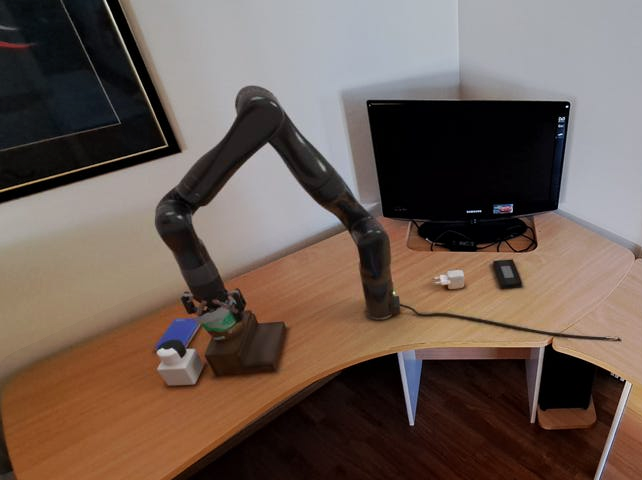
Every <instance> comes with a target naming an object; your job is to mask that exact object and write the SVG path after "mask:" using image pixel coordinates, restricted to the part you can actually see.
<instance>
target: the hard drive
mask: <svg viewBox="0 0 642 480" xmlns="http://www.w3.org/2000/svg"><path fill="white" fill-rule="evenodd" d="M201 326H202V325H201V324H197V323H196V321H195V318H174V320H173V321H172V322H171V324H170V325H169V326H168V328H167V330H166V331H165V332H164V334H163V335H162V337H160V340H159V341H158V343H157V344H156V345H155V347H154V348H153V349H154V350H155V352H156V351H157V349H158V347H159V346H160V345H161V344H162V343H164V342H166V341H169V340H180V341H181V342H182V343H183V345H184V346H185V348H186V349H187V348H188V346H189V344H190V343H191V341H192V339H193V338H194V337H195V335H196V333H198V332H197V331H198V330H199V328H200V327H201Z"/></svg>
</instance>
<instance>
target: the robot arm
mask: <svg viewBox="0 0 642 480" xmlns="http://www.w3.org/2000/svg"><path fill="white" fill-rule="evenodd" d="M234 107H235V108H234V109H235V113H236V117H235V119H234V121H233V122H232V124H231V125H230V128H229V129H228V131H227V133H226V134H225V135H224V136H223V138H222V139H221V140H220V141H219V142H218V143H217V144H216V145H215V146H214V147H212V148H211V149H210V150H208V151H207V152H206V153H204V154H203V155H202V156H201V157H200V158H198V160H196V161H195V162H194V164H193V165H191V167H190V168H189V170H188V171H186V174H185V175H184V176H183V177H182V178H181V179H180V181H179V183H178V184H177V185H175V186H174V187H173V188H172V189H170V190H169V191H168V192H167V193H166V194H165V195H163V197H162V198H161V199H160V200H159V202H158V203H157V205H156V206H155V211H154V226H155V227H154V228H155V229H156V231H157V234H158V235H159V236H158V237H160V240H162V242H163V243H164V244H165V245H166V247H167V248H168V250H170V251H171V253H172V256H173V258H174V260H175V262H176V264H177V266H178V267H179V270H180V274H181V276H182V278H183V280H184V282H185V283H186V286H187V287H188V289H189V291H184V292H183V293H182V296H181V298H180V300H181V303H182V305H183V307H184V309H185V312H186V314H188V315H193V314H194V315H195V316H196V317H199V316H201V315H202V314H203V313H204V311H205V310H206V309H205V308H207V307H208V308H213V307H223V308H225V309H227V310H228V309H230V310H231V311H232V312H234V313H233V314H234V316H235V318H236V321H237V322H241V320H242V319H243V313H242V311H245V310H246V307H247V300H245V298H244V295H243V293H242V292H241V289H240V288H238V287H237V288H234V290H228V289H227V288H226V287H225V284H224V281H223V279H222V277H221V274H220V272H219V269H218V267H217V266H216V263H215V262H214V260H213V258H212V257H211V255H210V253H209V251H208V249H207V246H206V244H205V242H204V241H203V240H202V238H201V237H199V236H198V234H197V231H196V230H195V227H194V224H193V216H195V214H196V213H197V211H198V210H199V209H200V208H203V207H204V208H205V207H207V206H208V205H209V204H210V203H212V201H213V200H214V199H215V198H216V197H217V196H218V195H219V193H220V192H221V191H222V190H223V188H224V187H225V186H226V185H227V184H228V182H229V181H230V180H231V179H232V177H234V175H235V174H236V173H237V172H238V171H239V170H240V169H241V168H242V166H243V165H244V164H246V163H247V162H248V161H249V160H250V159H251V158H252V157H253V156H254V155H255V154H256V153H258V151H260V150H261V149H263V148H264V147H265V146H266V145H267V144H269V145H270V146H271V147H272V148H273V150H274V151H275V152H276V153H277V155H278V156H279V157H280V159H281V160H282V162H283V163H284V165H285V166H286V168H287V169H288V171H289V172H290V174H291V176H292V177H293V178H294V179H295V181H296V182H297V183H298V185H300V187H301V188H302V189H303V190H304V192H306V194H307V195H308V196H309V197H310V198H311V199H312V200H313V201H314V202H315V203H316V204H317V205H319V206H321V208H323V209H324V210H326V211H327V212H329V213H331V214H332V215H334V216H335V217H336V218H337V219H338V221H340V222H341V224H342V225H343V227H344V228H345V229H346V230H347V233H349V235H350V237H351V239H352V241H353V243H354V244H355V246H356V249H357V252H358V258H359V261H358V269H359V275H360V281H361V287H362V292H363V297H364V302H365V306H366V307H365V309H366V314H367V316H368V317H369V318H370V319H372V320H376V321H383V320H384V321H385V320H387V319H389V318H391V317H394V316H396V315H400V314H401V307H402V308H405V309H408V310H410V311H412V312H413V313H414V314H416V315H417V316H421V317H433V316H446V317H447V316H448V317H452V318H453V317H454V318H461V319H466V320H472V321H477V322H482V323H487V324H493V325H497V326H502V327H507V328H511V329H517V330H522V331H527V332H533V333H538V334H544V335H553V336H559V337H568V338H578V339H589V340H590V339H592V340H611V339H612V340H613V339H614V340H617V341H619V342H622V339H621V337H618V339H615V338H606V337H607V336H594V335H593V336H591V335H581V334H580V335H579V334H578V335H577V334H570V333H569V334H568V333H559V332H552V331H544V330H539V329H534V328H527V327H522V326H517V325H512V324H508V323H502V322H498V321H492V320H488V319H483V318H477V317H473V316H465V315H460V314H453V313H446V312H434V313H421V312H418V311H417V310H416V309H415V308H413V307H411V306H409V305H406V304H402V303H401V300H400V299H401V298H400V295H395V293H396V292H395V288H394V287H395V286H394V282H393V278H392V277H393V276H392V269H391V264H392V250H391V242H390V237H389V234H388V233H387V231H386V229H385V228H384V227H383V225H382V224H381V222H380V221H378V219H377V218H376V217H374V216H373V214H371V213H370V212H369V211H368V210H367V209H366V208H365V207H364V206H363V205H362V204H361V203H360V202H359V201H358V200H357V198H356V196H355V194H354V193H353V192H352V190H351V189H350V187H349V185H348V184H347V182H346V181H345V179H344V178H343V177H342V176H341V174H340V173H339V172H338V171H337V169H336V168H335V167H334V166H333V165H332V164H331V163H330V161H329V160H327V158H326V157H325V155H323V154H322V153H321V152H320V151H319V150H318V149H317V147H315V146H314V144H312V143H311V142H310V141H309V140H308V139H307V137H305V135H303V133H302V132H301V131H300V130H299V129H298V127H297V126H296V125H295V124H294V122H293V121H292V119H291V118H290V116H289V115H288V114H287V112H286V110H285V109H284V107H283V106H282V105H281V103H280V101H279V99H278V98H277V96H276V95H275V94H274V93H273V92H271V91H270V90H268V89H267V88H265V87H262V86H260V85H252V84H251V85H245V86H243V87H242V88H240V89H239V91H238V92H237V93H236V96H235V99H234ZM229 296H230V297H229ZM231 297H232V298H231ZM228 299H229V303H228V304H226V303H225V302H226V301H228ZM193 300H194V301H196V302H197V303H199V306H196V305H195V302H194V301H193ZM234 300H235V301H234ZM232 304H233V305H234V307H233V306H232Z"/></svg>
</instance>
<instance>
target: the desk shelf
mask: <svg viewBox="0 0 642 480" xmlns="http://www.w3.org/2000/svg"><path fill="white" fill-rule="evenodd" d="M242 313H243V321H244V323H245V325H244V328H243V329H242V331H241V332H240V333H238V334H237V335H236V336H234V337H232V338H230V339H228V340H225V341H220V342H216V341H215V340H214V339H213V337H212V336H211V337H210V340H209V342H208V345H207V347H206V349H205V351H204V354H203V356H204V358H205V360H206V362H207V364H208V366H209V367H210V369H211V371H212V373H213V374H214V377H215V378H219V377H230V376H238V375H239V376H241V375H242V376H243V375H253V374H264V373H265V374H266V373H275V372H277V369H278V365H279V362H280V361H279V360H280V357H281V353H282V349H283V347H284V346H283V345H284V341H285V337H286V333H287V326H286V323H285V321H271V322H258V319H257V316H256V314H255V312H253V311H252V310H251V309H248V310H244V311H242Z"/></svg>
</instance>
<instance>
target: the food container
mask: <svg viewBox="0 0 642 480" xmlns="http://www.w3.org/2000/svg"><path fill="white" fill-rule="evenodd" d="M229 297H230V296H229ZM231 298H232V297H231ZM234 301H235V300H234ZM225 303H226V304H228V303H229V299H228V301H226V302H225ZM232 306H233V307H234V305H233V304H232ZM204 310H205V311H204V313H203V314H202V315H201V316H199V317H198V316H194V319H195V321H196V323H197V324H201V325H200V326H201V327H202V329H204V330H205V331H206V333H208V335H209V336H210V337H211V338H212V337H213V339H214V340H215V341H216V342H220V341H225V340H228V339H230V338H232V337H234V336H236V335H237V334H238V333H240V332H241V331H242V329H243V328H244V325H245V323H244V321H243V319H242V320H241V322H237V321H236V318H235V316H234V314H233V313H234V312H232V311H231V310H230V309H228V310H227V309H225V308H223V307H213V308H208V307H206V309H204Z"/></svg>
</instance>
